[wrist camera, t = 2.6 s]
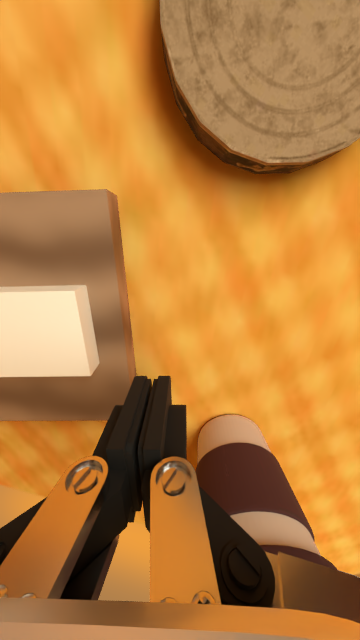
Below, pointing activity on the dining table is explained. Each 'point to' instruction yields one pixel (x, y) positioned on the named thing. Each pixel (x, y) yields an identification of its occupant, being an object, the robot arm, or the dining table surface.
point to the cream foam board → (46, 332)
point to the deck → (61, 270)
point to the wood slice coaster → (266, 78)
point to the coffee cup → (253, 487)
